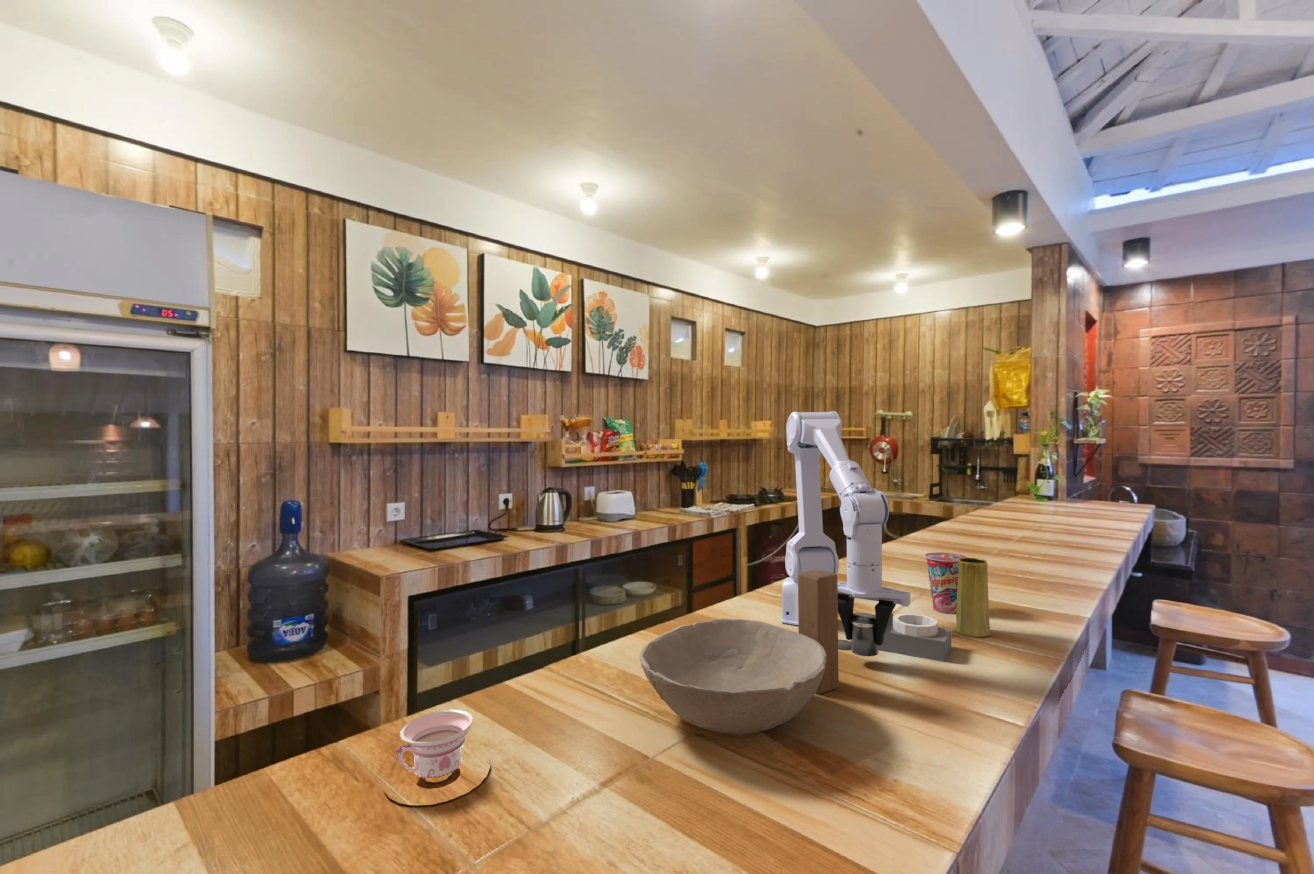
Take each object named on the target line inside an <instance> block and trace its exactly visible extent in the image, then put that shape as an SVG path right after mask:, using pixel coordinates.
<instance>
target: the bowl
mask: <svg viewBox="0 0 1314 874" xmlns="http://www.w3.org/2000/svg"><path fill="white" fill-rule="evenodd" d="M826 660H827V655H826V653H825V650H824V648H823V647H822V646H821V645H820V643H818V642H817V641H816V640H814V639H812V638H809V637H807V636H805V635H802V634H800V633H799V632H797V631H793V630H791V629H787V628H785V627H782V626H779V625H775V624H772V623H768V622H766V621H765V622H764V621H759V620H755V619H739V618H714V619H711V620H708V621H707V620H700V621H696V622H694V623H693V624H685V625H684V624H683V625H680V626H678V627H676V628H673V629H671V630H670V631H666V632H664V633H661V634H659V635H658V636H656V637H654V638H653V639H652V640H650V641H649V642H647V643H646V644H645V645H644V646H643V647H642V648H641V650H640V652H639V661H640V664H641V668H642V670H643V673H644V674H645V677H646V678H647V680H648V682H649V683H650V685H651V686H652V687H653V689H654V690H655V692H656V693H657V694H658V696H659V698H660V699H661V700H662V701H664V703H665V705H667V706H668V707H669V708H670V710H671V711H673V713H675V714H676V715H677V716H678V717H679V718H680V719H683V721H685V722H687V723H690V724H691V725H694V726H696V727H698V728H701V729H703V730H709V731H713V732H716V733H722V734H730V735H741V736H745V735H747V734H751V733H758V732H764V731H768V730H769V731H770V730H771V729H773V728H775V727H778V726H780V725H782V724H785V723H786V722H788V721H789V720H791V719H792V718H794V717H795V716H796V715H797V714H799V712H801V711H802V710H803V708H805V706H806V704H807V703H808V702H809V701H810V700H811V699H812V698H813V696H814V695H815V693H816V691H817V689H818V687H819V685H820V682H821V680H822V677H823V674H824V671H825V668H826Z"/></svg>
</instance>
